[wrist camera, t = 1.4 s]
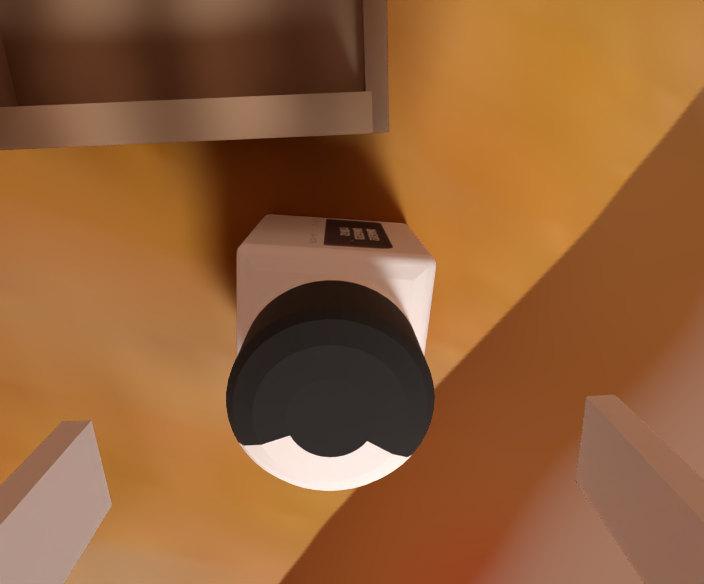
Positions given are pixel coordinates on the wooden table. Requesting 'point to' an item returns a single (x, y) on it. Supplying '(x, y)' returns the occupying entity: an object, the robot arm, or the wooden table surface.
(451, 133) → the wooden table surface
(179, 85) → the rack
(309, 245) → the container
